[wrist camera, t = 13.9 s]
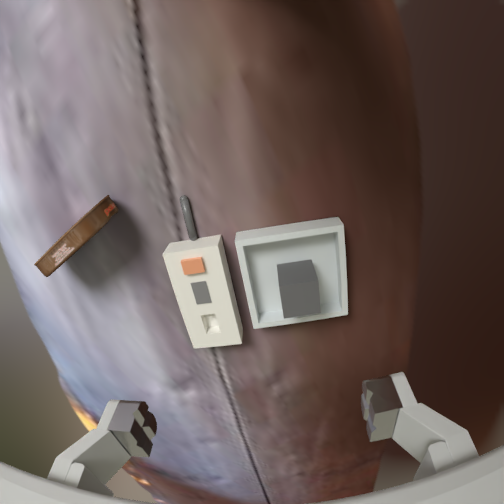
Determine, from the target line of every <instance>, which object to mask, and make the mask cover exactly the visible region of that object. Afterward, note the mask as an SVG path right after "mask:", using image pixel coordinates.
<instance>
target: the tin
mask: <svg viewBox="0 0 504 504" xmlns="http://www.w3.org/2000/svg"><path fill="white" fill-rule="evenodd" d="M117 212H118V208H117V206H116V205H115V204H114V202H113V201H112V200H111V199H110V197H109V195H107V196H106V197H105V198H104V199H103V200H101V201H100V202H99V203H98V204H97V205H95V206H94V207H93V208H92V209H91V210H90V211H89V212H87V213H86V214H85V215H84V216H83V217H82V218H81V219H80V220H79V221H78V222H77V223H76V224H74V225H73V226H72V227H71V228H70V229H69V230H68V231H67V232H66V233H65V234H64V235H63V236H62V237H61V238H60V239H59V240H58V241H57V242H56V243H55V244H54V245H53V246H52V247H51V248H50V249H49V250H48V251H47V252H46V253H45V254H44V255H43V256H42V257H41V258H40V259H39V260H38V261H37V262H36V263H35V264H34V265H35V266H37V267H38V269H39V270H40V271H41V272H42V273H43V274H44V275H45V276H46V277H48V276H50V275H51V274H52V273H53V272H54V271H55V270H56V269H58V268H59V267H60V266H61V265H62V264H63V263H64V262H65V261H67V260H68V259H69V258H70V257H71V256H72V255H73V254H74V253H75V252H76V251H78V250H79V249H80V248H81V247H82V246H83V245H84V244H85V243H86V242H88V241H89V240H90V239H91V238H92V237H93V236H94V235H95V234H96V233H97V232H98V231H99V230H100V229H101V228H102V227H104V226H105V225H106V223H107V222H108V221H109V220H110V218H111V217H112V216H113V215H114V214H115V213H117Z"/></svg>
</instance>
